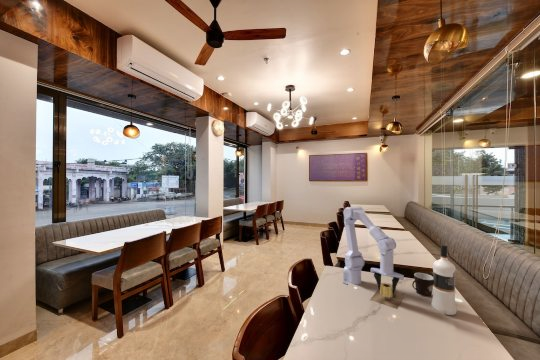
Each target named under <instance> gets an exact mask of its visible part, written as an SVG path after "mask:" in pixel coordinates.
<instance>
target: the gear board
mask: <svg viewBox="0 0 540 360" xmlns="http://www.w3.org/2000/svg"><path fill="white" fill-rule="evenodd" d="M405 295H406V293H404V292H401V291H397V290H396V296H395V297H390V298H388V297H384V296H383V295H381V294H380V289H378V288H377V290H376V292H375V293H374V294H373V295H372V297H371V298H370V299H369V300H370V301H372V302H375V303H376V304H377V303H378V304H381V305H383V306H387V307H389V308H392V309H396V310H399V309H398V308H399V306H400V305H401V303H402V301H403V299H404V297H405Z"/></svg>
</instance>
